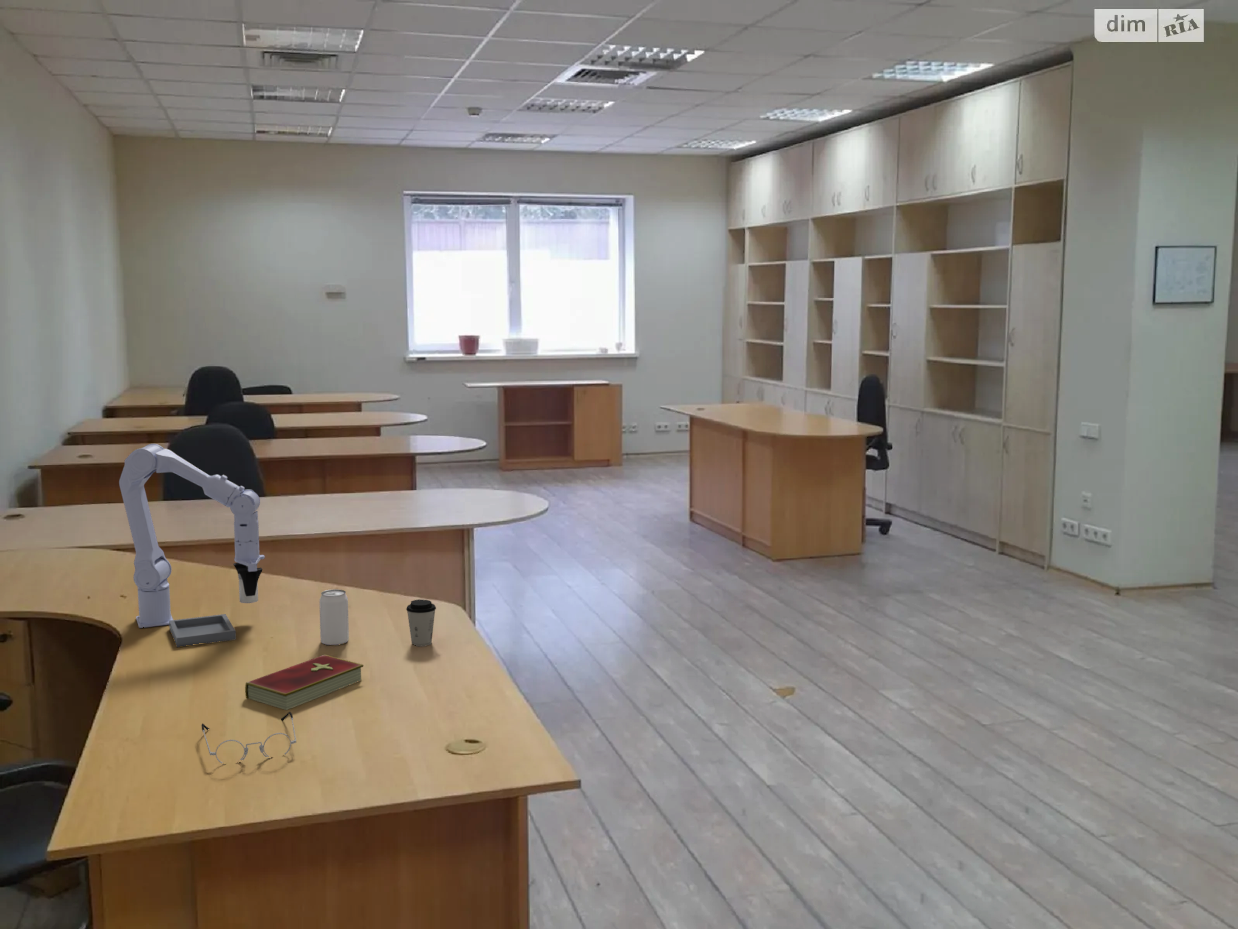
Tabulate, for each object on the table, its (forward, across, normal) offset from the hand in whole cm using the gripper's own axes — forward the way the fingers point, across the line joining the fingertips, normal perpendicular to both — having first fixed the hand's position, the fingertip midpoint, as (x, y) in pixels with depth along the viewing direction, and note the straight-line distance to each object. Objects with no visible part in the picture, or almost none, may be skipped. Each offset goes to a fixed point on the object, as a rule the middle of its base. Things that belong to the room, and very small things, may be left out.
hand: (248, 593), depth 269 cm
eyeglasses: (+8, -76, +13) cm, 78 cm away
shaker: (+2, 0, 0) cm, 2 cm away
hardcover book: (+8, -53, -2) cm, 54 cm away
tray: (+7, -6, +12) cm, 15 cm away
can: (+7, -25, -15) cm, 30 cm away
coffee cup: (+7, -35, -33) cm, 49 cm away
